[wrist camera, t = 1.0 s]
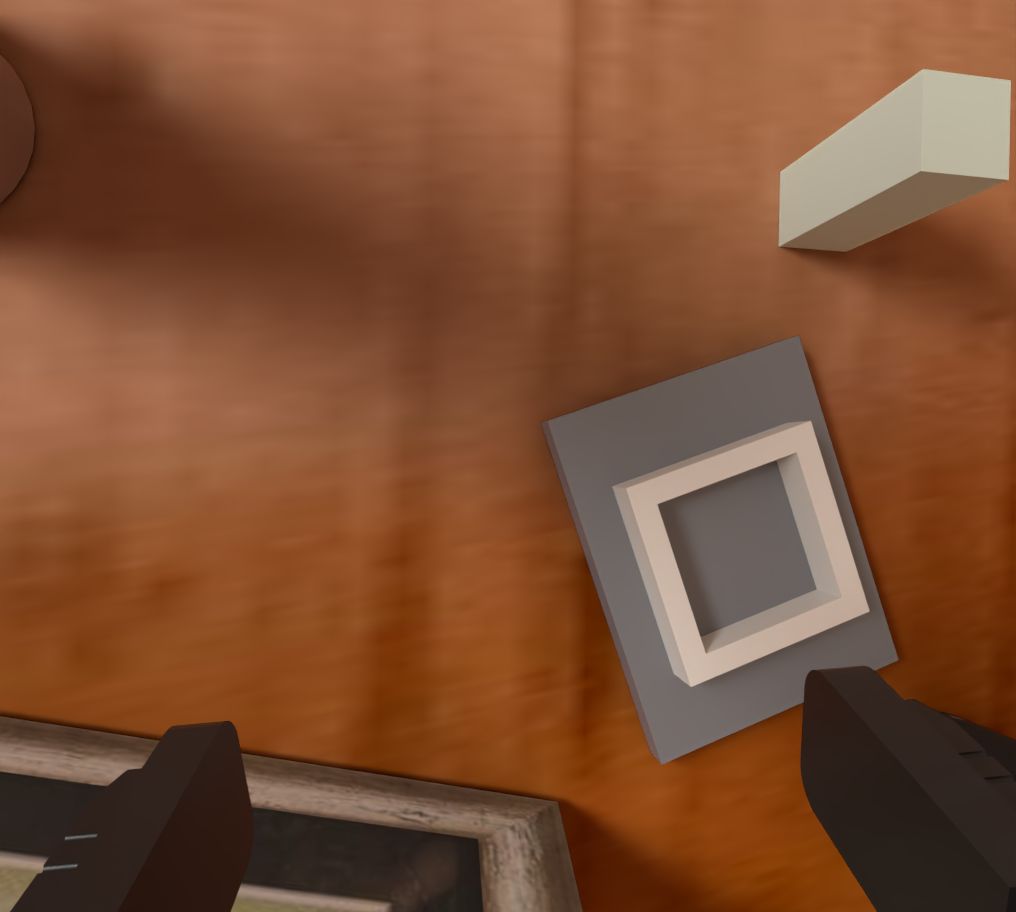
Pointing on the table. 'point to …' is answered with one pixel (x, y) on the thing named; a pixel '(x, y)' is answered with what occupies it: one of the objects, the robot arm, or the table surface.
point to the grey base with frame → (720, 543)
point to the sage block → (898, 162)
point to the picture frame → (307, 831)
